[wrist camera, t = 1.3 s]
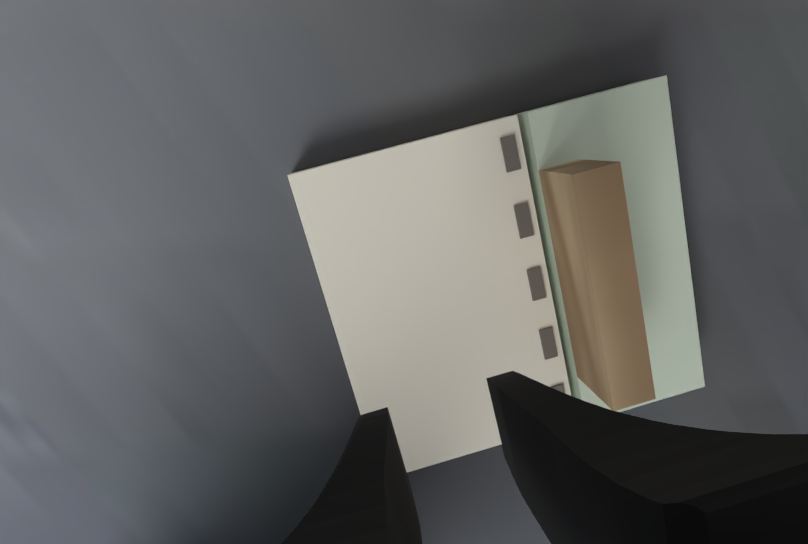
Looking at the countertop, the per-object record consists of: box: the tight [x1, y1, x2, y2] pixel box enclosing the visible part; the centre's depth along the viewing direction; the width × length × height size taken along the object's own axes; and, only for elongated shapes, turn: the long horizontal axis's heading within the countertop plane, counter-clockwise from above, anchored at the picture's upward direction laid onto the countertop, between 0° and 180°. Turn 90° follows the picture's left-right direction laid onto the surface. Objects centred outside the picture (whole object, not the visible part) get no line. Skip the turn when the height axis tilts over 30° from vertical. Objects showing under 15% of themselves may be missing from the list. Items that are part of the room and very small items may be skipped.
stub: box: [514, 75, 705, 412], centre depth 19 cm, size 5×12×4 cm, turn 14°
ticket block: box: [287, 115, 571, 473], centre depth 20 cm, size 8×12×2 cm, turn 14°
